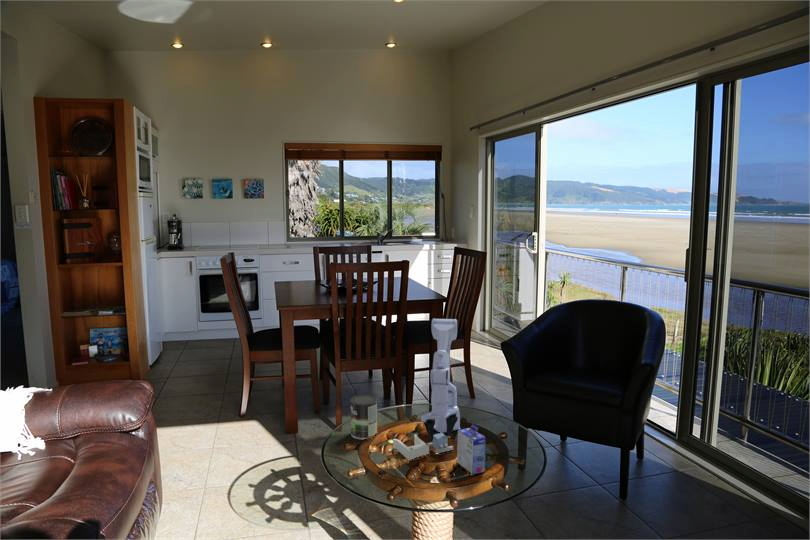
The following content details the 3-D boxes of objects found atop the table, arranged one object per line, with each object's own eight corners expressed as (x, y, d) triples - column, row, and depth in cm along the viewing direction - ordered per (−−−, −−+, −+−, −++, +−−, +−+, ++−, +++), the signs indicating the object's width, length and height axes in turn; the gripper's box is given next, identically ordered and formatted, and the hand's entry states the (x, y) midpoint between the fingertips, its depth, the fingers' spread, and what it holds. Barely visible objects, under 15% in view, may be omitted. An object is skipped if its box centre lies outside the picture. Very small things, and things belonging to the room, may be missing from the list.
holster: (443, 444, 213) (443, 439, 212) (453, 452, 207) (453, 446, 206) (427, 448, 210) (426, 443, 209) (436, 456, 203) (436, 450, 203)
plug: (442, 445, 211) (442, 432, 210) (449, 451, 206) (449, 437, 206) (432, 448, 209) (432, 434, 208) (439, 453, 204) (439, 440, 204)
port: (416, 444, 214) (416, 432, 213) (431, 456, 203) (431, 444, 203) (392, 449, 209) (392, 438, 209) (406, 462, 199) (406, 450, 199)
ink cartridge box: (486, 471, 192) (486, 430, 190) (472, 475, 190) (472, 434, 188) (469, 459, 201) (470, 420, 199) (456, 463, 198) (456, 423, 196)
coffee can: (355, 441, 216) (354, 405, 214) (347, 431, 226) (347, 397, 224) (381, 437, 220) (380, 402, 218) (372, 427, 230) (372, 393, 228)
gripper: (427, 408, 199) (427, 445, 201) (463, 401, 205) (463, 437, 207) (418, 401, 205) (418, 437, 207) (452, 395, 211) (452, 430, 213)
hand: (440, 437), depth 207 cm, fingers open, 7 cm apart
